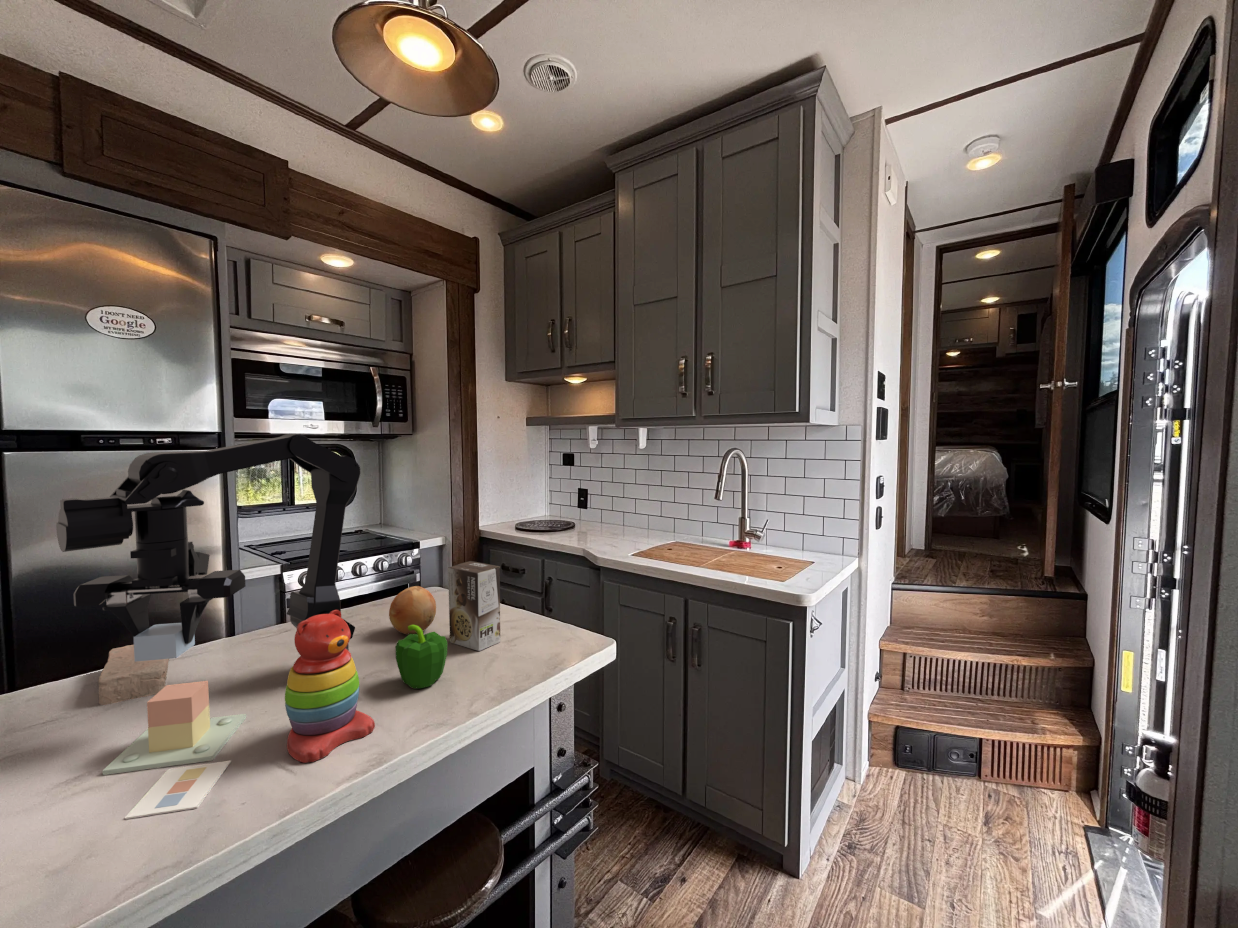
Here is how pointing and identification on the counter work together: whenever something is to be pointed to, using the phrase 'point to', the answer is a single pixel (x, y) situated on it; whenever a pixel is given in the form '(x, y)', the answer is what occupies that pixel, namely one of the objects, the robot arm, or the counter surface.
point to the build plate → (180, 755)
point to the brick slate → (160, 642)
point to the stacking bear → (323, 690)
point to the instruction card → (179, 789)
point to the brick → (130, 676)
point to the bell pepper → (421, 657)
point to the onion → (412, 609)
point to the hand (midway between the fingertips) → (167, 644)
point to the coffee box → (474, 604)
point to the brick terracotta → (178, 704)
